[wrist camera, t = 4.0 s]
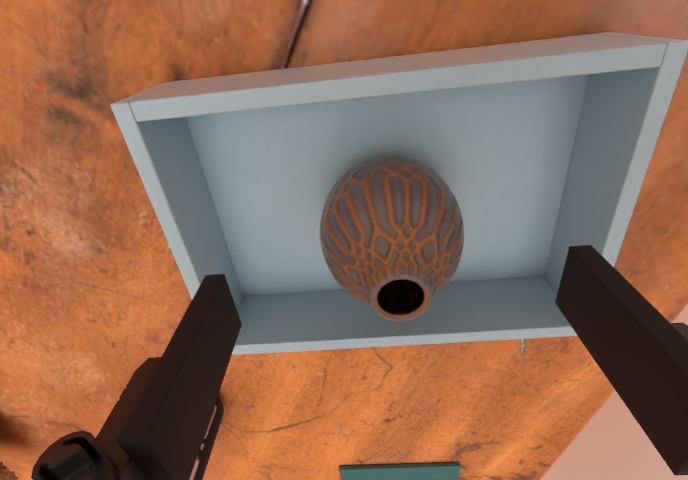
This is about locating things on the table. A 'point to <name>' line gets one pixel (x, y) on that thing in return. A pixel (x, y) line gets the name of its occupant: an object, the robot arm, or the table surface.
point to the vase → (392, 235)
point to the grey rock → (6, 473)
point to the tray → (415, 143)
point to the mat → (401, 471)
